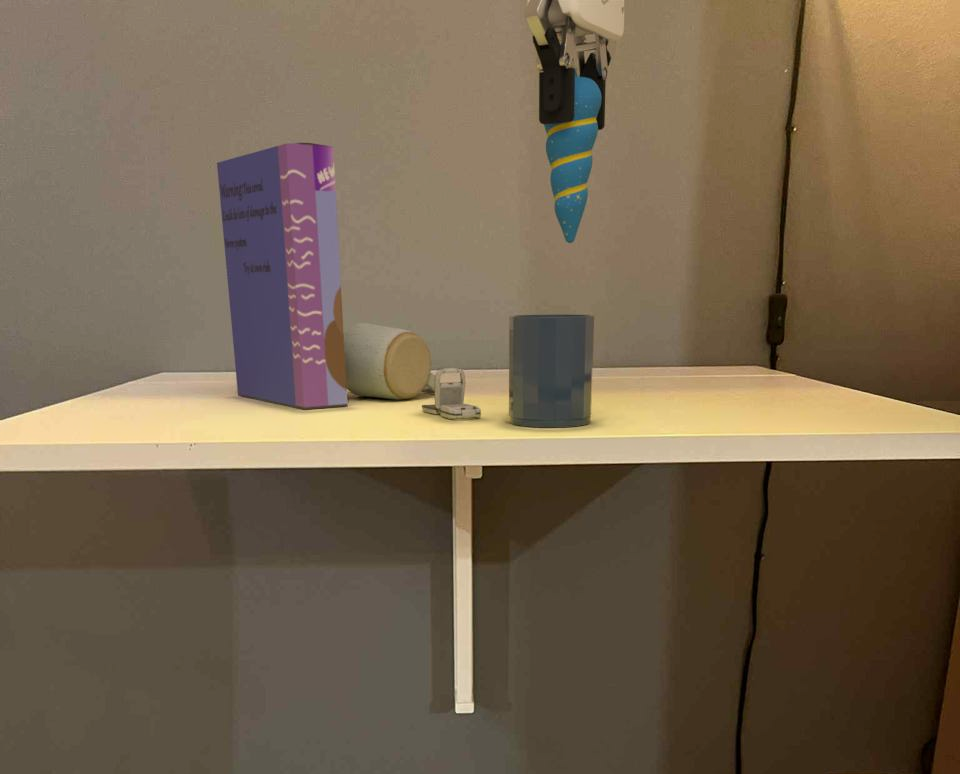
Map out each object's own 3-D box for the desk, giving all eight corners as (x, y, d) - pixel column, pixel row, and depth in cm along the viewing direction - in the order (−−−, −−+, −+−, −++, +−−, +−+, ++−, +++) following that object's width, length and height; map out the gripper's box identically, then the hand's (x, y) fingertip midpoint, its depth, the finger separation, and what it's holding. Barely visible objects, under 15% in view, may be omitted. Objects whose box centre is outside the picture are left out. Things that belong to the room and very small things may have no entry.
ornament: (590, 243, 94) (593, 65, 89) (605, 241, 89) (609, 52, 84) (537, 244, 93) (537, 64, 88) (549, 241, 88) (550, 51, 83)
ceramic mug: (388, 403, 102) (386, 325, 99) (335, 398, 107) (332, 323, 104) (457, 396, 109) (457, 323, 107) (405, 391, 114) (404, 322, 112)
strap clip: (484, 419, 90) (483, 370, 88) (453, 420, 89) (453, 372, 87) (447, 409, 97) (447, 364, 96) (419, 410, 96) (418, 365, 95)
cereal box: (347, 406, 100) (333, 144, 92) (304, 409, 97) (286, 140, 89) (277, 392, 114) (259, 163, 105) (238, 395, 111) (216, 160, 103)
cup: (604, 419, 88) (607, 314, 85) (567, 429, 83) (570, 317, 80) (534, 415, 92) (535, 314, 89) (494, 424, 86) (494, 316, 83)
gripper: (567, -165, 73) (564, 109, 79) (658, -96, 87) (649, 133, 93) (482, -141, 77) (486, 119, 83) (582, -79, 90) (578, 141, 97)
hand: (572, 124), depth 88 cm, fingers closed on ornament, 5 cm apart
